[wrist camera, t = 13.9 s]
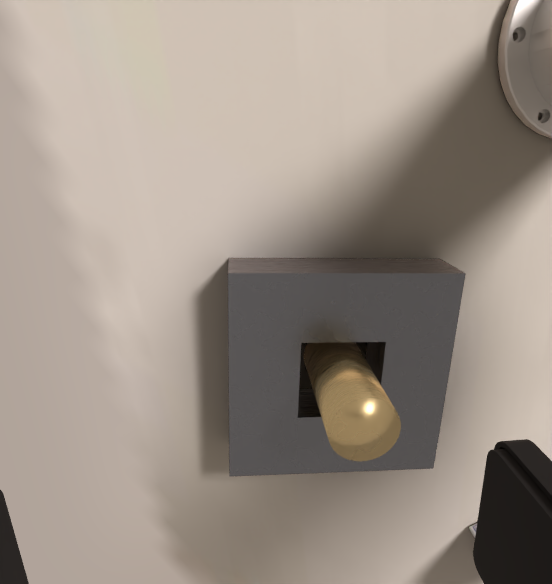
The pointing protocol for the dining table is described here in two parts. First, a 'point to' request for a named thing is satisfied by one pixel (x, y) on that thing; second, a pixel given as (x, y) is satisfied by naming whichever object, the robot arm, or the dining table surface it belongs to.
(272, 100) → the dining table surface
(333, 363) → the brass peg
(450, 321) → the socket block
